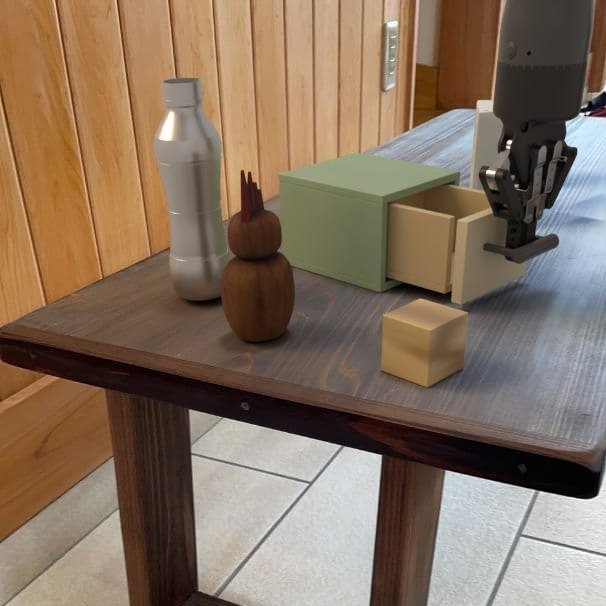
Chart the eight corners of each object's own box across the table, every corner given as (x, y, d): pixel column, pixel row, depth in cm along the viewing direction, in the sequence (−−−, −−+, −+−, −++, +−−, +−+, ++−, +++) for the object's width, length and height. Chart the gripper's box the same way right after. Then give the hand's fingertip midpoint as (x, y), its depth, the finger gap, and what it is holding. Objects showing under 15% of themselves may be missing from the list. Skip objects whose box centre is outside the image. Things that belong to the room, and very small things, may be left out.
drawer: (566, 284, 86) (578, 204, 81) (502, 317, 80) (511, 232, 75) (423, 248, 96) (427, 175, 92) (356, 274, 90) (357, 197, 85)
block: (417, 352, 76) (420, 297, 73) (463, 368, 73) (468, 312, 70) (380, 370, 73) (382, 314, 70) (427, 387, 70) (430, 330, 67)
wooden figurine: (258, 354, 76) (247, 178, 67) (213, 339, 79) (197, 168, 71) (307, 331, 80) (303, 161, 72) (262, 317, 84) (253, 153, 75)
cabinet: (453, 262, 95) (460, 170, 89) (380, 292, 88) (382, 196, 82) (356, 237, 104) (356, 152, 98) (282, 263, 96) (278, 173, 91)
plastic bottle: (245, 289, 90) (230, 76, 78) (214, 312, 85) (193, 88, 73) (192, 282, 92) (170, 73, 80) (159, 303, 87) (130, 85, 75)
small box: (519, 228, 105) (534, 111, 97) (467, 227, 105) (477, 111, 98) (515, 209, 111) (528, 98, 103) (466, 209, 112) (475, 99, 104)
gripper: (537, 68, 66) (511, 287, 76) (622, 49, 73) (588, 251, 84) (459, 61, 70) (444, 269, 81) (546, 44, 78) (523, 236, 88)
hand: (518, 259), depth 82 cm, fingers closed
